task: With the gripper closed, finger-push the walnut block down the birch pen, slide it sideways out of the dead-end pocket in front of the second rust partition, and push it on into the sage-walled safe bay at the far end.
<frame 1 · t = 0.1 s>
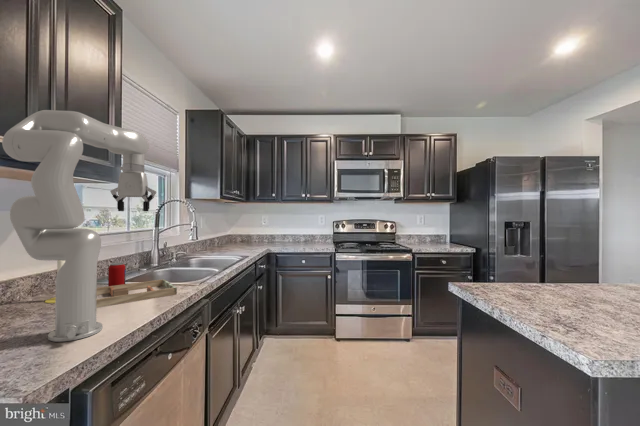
hand: (133, 211, 120), 37 cm above the worktop, tool pointing down, fingers open, 9 cm apart
block: (120, 298, 124), on the worktop
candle: (61, 300, 121), on the worktop
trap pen: (133, 295, 129), on the worktop
beverage can: (116, 288, 140), on the worktop
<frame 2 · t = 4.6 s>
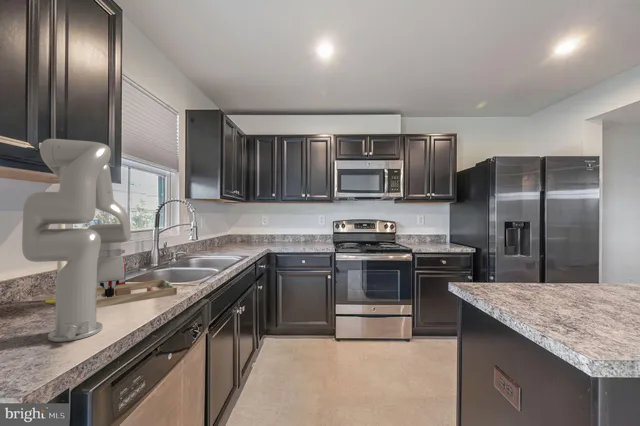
hand: (109, 297, 121), 1 cm above the worktop, tool pointing down, fingers closed
block: (122, 298, 124), on the worktop, touching gripper
everything else where it was.
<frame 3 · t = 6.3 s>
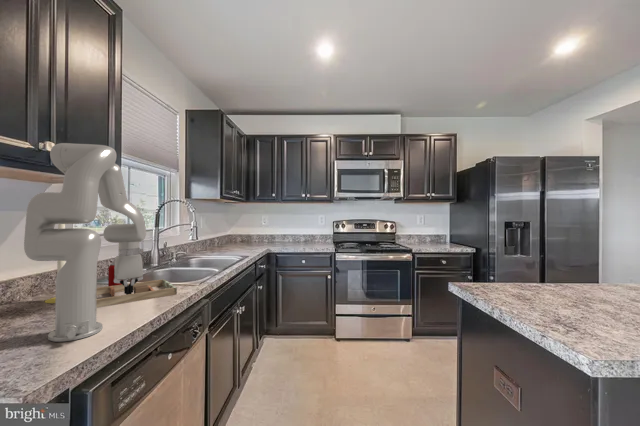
hand: (128, 294, 126), 1 cm above the worktop, tool pointing down, fingers closed
block: (141, 295, 129), on the worktop
everything else where it was.
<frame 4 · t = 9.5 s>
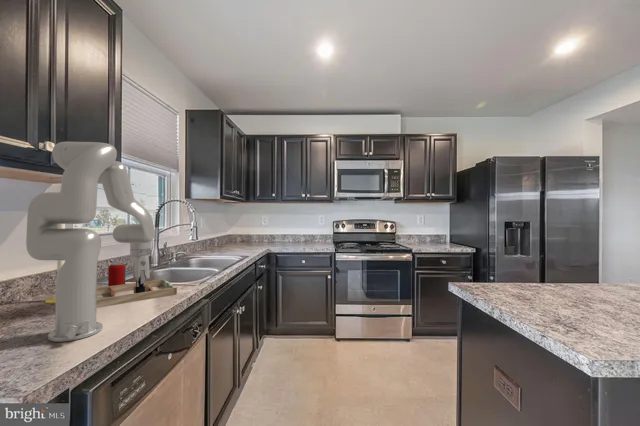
hand: (140, 295, 125), 1 cm above the worktop, tool pointing down, fingers closed
block: (141, 295, 129), on the worktop, touching gripper
everything else where it was.
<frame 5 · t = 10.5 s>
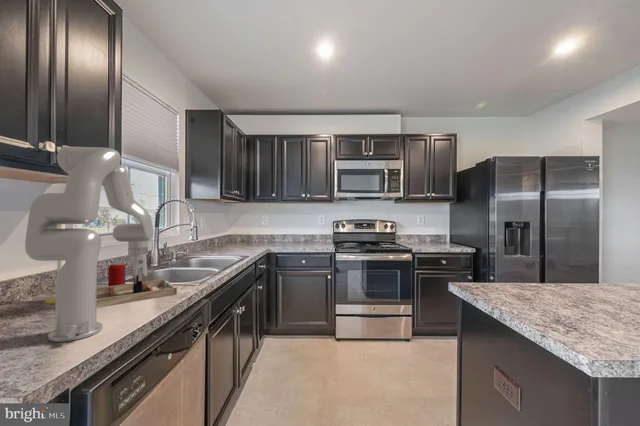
hand: (137, 292, 129), 1 cm above the worktop, tool pointing down, fingers closed
block: (139, 292, 133), on the worktop, touching gripper
everything else where it was.
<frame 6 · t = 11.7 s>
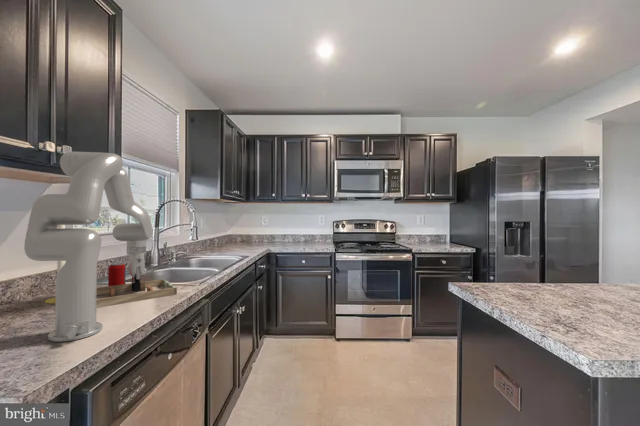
hand: (136, 290, 132), 1 cm above the worktop, tool pointing down, fingers closed
block: (138, 290, 136), on the worktop, touching gripper, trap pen
everything else where it was.
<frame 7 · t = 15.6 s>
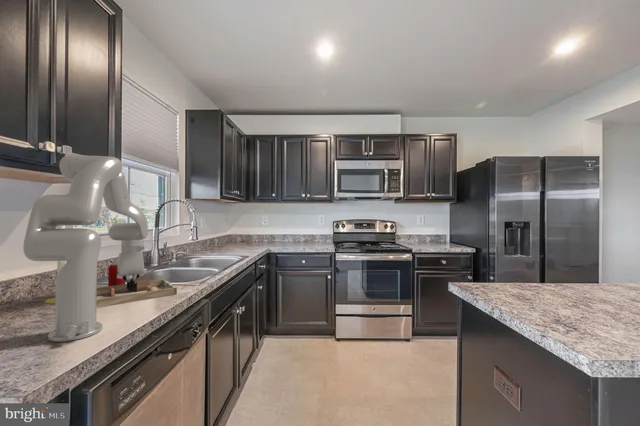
hand: (130, 289, 134), 1 cm above the worktop, tool pointing down, fingers closed
block: (142, 290, 138), on the worktop, touching gripper
everything else where it was.
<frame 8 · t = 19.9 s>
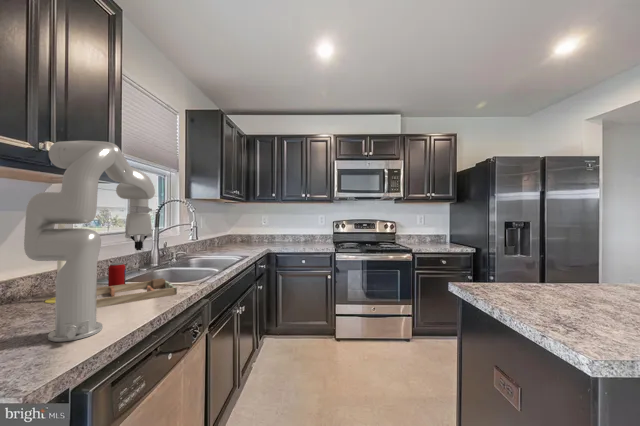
hand: (138, 250, 136), 19 cm above the worktop, tool pointing down, fingers closed
block: (158, 287, 142), on the worktop
everything else where it was.
at the end: block inside the target area (1.5 cm from its centre), on the worktop; block moved 19.2 cm from its start; the gripper is holding nothing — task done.
